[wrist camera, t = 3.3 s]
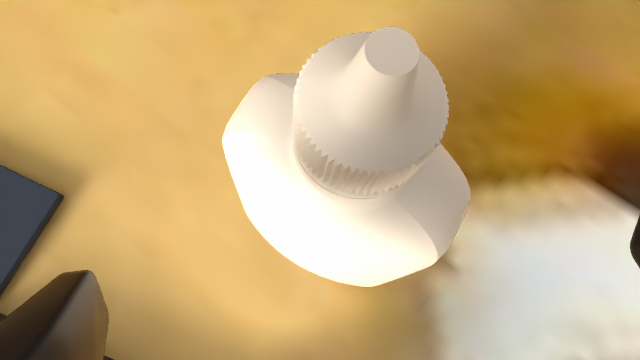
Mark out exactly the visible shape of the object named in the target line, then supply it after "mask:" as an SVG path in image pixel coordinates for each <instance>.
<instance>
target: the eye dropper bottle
mask: <svg viewBox="0 0 640 360" xmlns="http://www.w3.org/2000/svg"><path fill="white" fill-rule="evenodd" d="M439 73H440V72H439V71H438V70H437V69H436V68H435V65H434V64H432V63H431V60H430V59H429V58H427V57H426V55H425V54H424V53H422V52H421V51H420V50H419V47H418V44H417V42H416V40H415V39H414V38H413V36H412V35H410V34H409V33H408V32H407V31H405V30H403V29H400V28H397V27H383V28H380V29H377V30H375V31H374V32H373V33H371V32H366V33H364V32H359V33H352V34H351V35H344V36H343V37H337V39H335V40H330V43H326V44H324V47H321V48H318V52H315V53H312V57H311V58H309V59H307V63H306V64H304V65H303V70H301V71H300V73H299V74H295V73H277V74H273V75H268V76H264V77H263V78H262V79H260V80H259V81H258V82H256V83H255V84H254V86H253V87H252V88H251V89H250V90H249V92H248V93H247V94H246V96H245V97H244V99H243V100H242V101H241V103H240V104H239V106H238V107H237V109H236V110H235V112H234V113H233V115H232V117H231V119H230V120H229V122H228V124H227V126H226V128H225V131H224V135H223V139H222V144H223V148H224V152H225V156H226V160H227V163H228V166H229V169H230V172H231V175H232V178H233V180H234V183H235V186H236V188H237V191H238V194H239V196H240V199H241V201H242V204H243V206H244V209H245V211H246V214H247V216H248V217H249V219H250V220H251V222H252V223H253V225H254V226H255V227H256V229H257V230H258V231H259V232H260V233H261V234H262V236H263V237H264V238H265V239H266V240H267V241H268V242H269V243H270V244H271V245H272V246H273V247H274V248H276V249H277V250H278V251H279V252H280V253H282V254H283V255H284V256H285V257H287V258H288V259H289V260H291V261H292V262H294V263H296V264H297V265H299V266H300V267H302V268H304V269H306V270H308V271H310V272H312V273H314V274H316V275H319V276H321V277H324V278H327V279H330V280H333V281H336V282H340V283H344V284H349V285H355V286H362V287H373V286H377V285H381V284H384V283H387V282H390V281H393V280H395V279H398V278H401V277H404V276H407V275H409V274H412V273H415V272H417V271H420V270H422V269H424V268H427V267H429V266H431V265H433V264H434V263H435V262H436V261H437V260H438V259H439V258H440V257H441V256H442V255H443V254H444V253H445V252H446V251H447V249H448V247H449V246H450V244H451V242H452V240H453V238H454V236H455V234H456V232H457V230H458V228H459V226H460V224H461V222H462V220H463V218H464V216H465V213H466V211H467V209H468V206H469V203H470V193H471V190H470V187H469V184H468V181H467V178H466V177H465V175H464V174H463V172H462V170H461V169H460V167H459V166H458V164H457V163H456V162H455V160H454V159H453V158H452V156H451V155H450V154H449V153H448V151H447V150H446V149H445V148H444V147H443V146H442V144H441V143H440V141H441V139H442V138H443V134H444V133H445V131H446V128H445V127H446V125H447V124H448V121H447V118H448V117H449V114H448V110H449V109H450V108H449V106H448V102H449V99H448V98H447V95H448V93H447V91H446V90H445V87H446V85H445V84H444V83H443V82H442V81H443V78H442V77H441V76H440V75H439Z"/></svg>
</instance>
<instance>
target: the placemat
mask: <svg viewBox="0 0 640 360" xmlns="http://www.w3.org/2000/svg"><path fill="white" fill-rule="evenodd" d="M63 198H64V196H63V195H61V194H60V193H58V192H55V191H53V190H51V189H49V188H47V187H45V186H43V185H41V184H39V183H37V182H35V181H33V180H31V179H28V178H26V177H24V176H22V175H20V174H18V173H16V172H14V171H12V170H10V169H8V168H6V167H3V166H1V165H0V296H1V294H2V293H3V291H4V290H5V288H6V286H7V285H8V283H9V282H10V280H11V279H12V277H13V276H14V274H15V272H16V271H17V269H18V268H19V266H20V265H21V263H22V262H23V260H24V258H25V257H26V255H27V254H28V252H29V251H30V249H31V248H32V246H33V244H34V243H35V241H36V240H37V238H38V237H39V235H40V234H41V232H42V230H43V229H44V227H45V226H46V224H47V223H48V221H49V220H50V218H51V216H52V215H53V213H54V212H55V210H56V209H57V207H58V206H59V204H60V202H61V201H62V199H63Z"/></svg>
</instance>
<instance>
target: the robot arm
mask: <svg viewBox="0 0 640 360" xmlns="http://www.w3.org/2000/svg"><path fill="white" fill-rule="evenodd" d="M630 250H631V254H632V257H633V258H634V260H635V262H636V263H637V265H638V266H639V268H640V216H639V218H638V221H637V224H636V227H635V230H634V233H633V236H632V239H631V242H630ZM108 323H109V317H108V310H107V307H106V304H105V301H104V298H103V296H102V293H101V290H100V287H99V284H98V282H97V279H96V276H95V275H94V273H93V272H91V271H89V270H81V271H73V272H65V273H62V274H60V275H59V276H57V277H56V278H55V279H54V280H52V281H51V282H50V283H49V284H47V285H46V286H45V287H44V288H42V289H41V290H40V291H39V292H37V293H36V294H35V295H34V296H32V297H31V298H30V299H29V300H27V301H26V302H25V303H24V304H22V305H21V306H20V307H18V308H17V309H16V310H15V311H13V312H12V313H11V314H10V315H8V316H7V317H6V318H5V319H3V320H2V321H1V322H0V360H103V358H104V351H105V344H106V338H107V331H108Z"/></svg>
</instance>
